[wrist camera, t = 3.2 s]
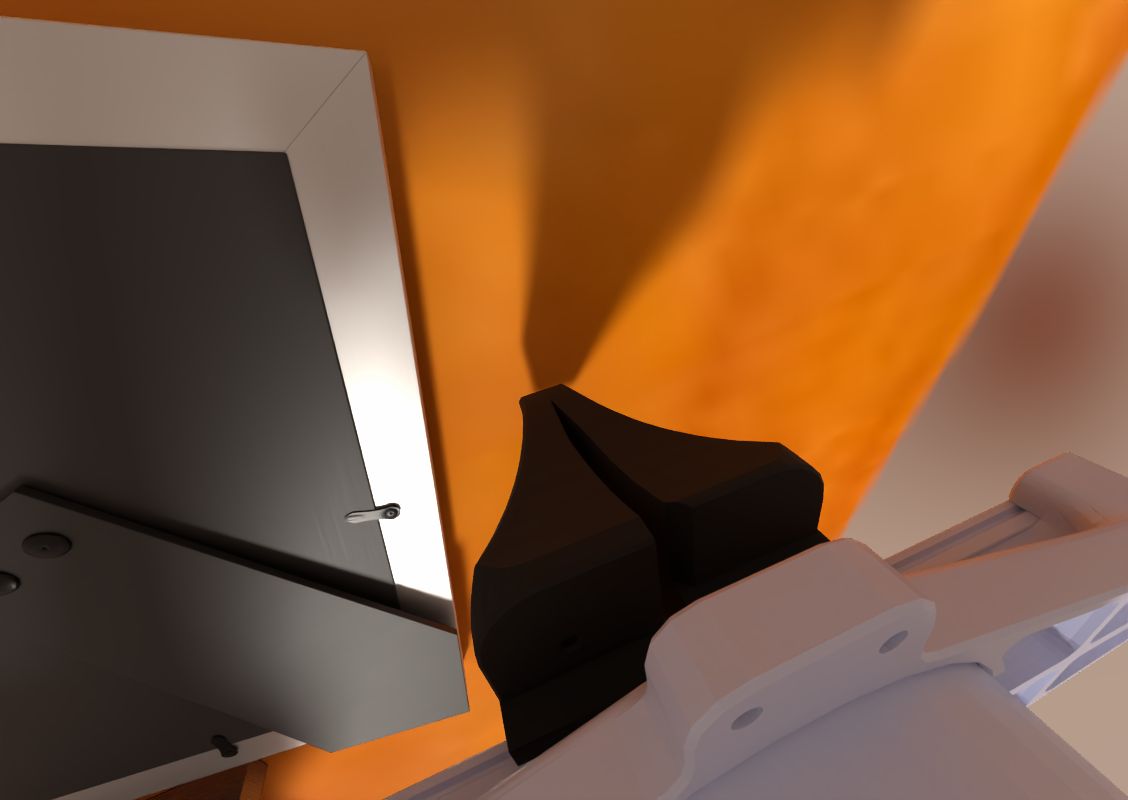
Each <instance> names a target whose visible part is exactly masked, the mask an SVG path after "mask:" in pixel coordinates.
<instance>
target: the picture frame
mask: <svg viewBox="0 0 1128 800" xmlns="http://www.w3.org/2000/svg"><path fill="white" fill-rule="evenodd" d="M469 711H470V710H469V703H468V696H467V685H466V677H465V669H464V661H463V654H462V648H461V641H460V635H459V628H458V622H457V615H456V609H455V602H454V596H453V589H452V583H451V576H450V570H449V563H448V557H447V550H446V544H445V537H444V531H443V524H442V518H441V511H440V505H439V498H438V492H437V485H436V479H435V472H434V466H433V460H432V453H431V447H430V440H429V434H428V427H427V421H426V414H425V408H424V401H423V395H422V388H421V382H420V375H419V369H418V362H417V356H416V349H415V343H414V336H413V330H412V323H411V317H410V310H409V304H408V297H407V291H406V284H405V278H404V271H403V265H402V258H401V252H400V245H399V239H398V232H397V226H396V220H395V213H394V207H393V200H392V194H391V187H390V181H389V174H388V168H387V161H386V155H385V148H384V142H383V135H382V129H381V122H380V116H379V109H378V103H377V96H376V90H375V83H374V77H373V70H372V65H371V62H370V59H369V56H368V53H367V52H366V51H365V50H354V49H344V48H333V47H323V46H313V45H302V44H292V43H281V42H271V41H260V40H250V39H239V38H229V37H219V36H208V35H198V34H187V33H177V32H166V31H156V30H146V29H135V28H125V27H114V26H104V25H93V24H83V23H73V22H62V21H52V20H41V19H31V18H20V17H10V16H0V800H134V799H137V798H140V797H144V796H147V795H150V794H153V793H156V792H159V791H162V790H165V789H168V788H171V787H174V786H178V785H181V784H184V783H187V782H190V781H193V780H196V779H199V778H202V777H205V776H209V775H212V774H215V773H218V772H221V771H224V770H227V769H230V768H233V767H236V766H239V765H243V764H246V763H249V762H252V761H255V760H258V759H261V758H264V757H267V756H270V755H274V754H277V753H280V752H283V751H286V750H289V749H292V748H295V747H298V746H301V745H304V744H309V745H312V746H314V747H317V748H320V749H322V750H325V751H328V752H331V753H332V752H335V751H339V750H342V749H345V748H349V747H352V746H355V745H359V744H362V743H365V742H369V741H372V740H375V739H379V738H382V737H385V736H389V735H392V734H396V733H399V732H402V731H406V730H409V729H412V728H416V727H419V726H422V725H426V724H429V723H432V722H436V721H439V720H442V719H446V718H449V717H452V716H456V715H459V714H463V713H466V712H469Z"/></svg>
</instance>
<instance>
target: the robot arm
mask: <svg viewBox="0 0 1128 800" xmlns="http://www.w3.org/2000/svg"><path fill="white" fill-rule="evenodd" d="M519 404H520V407H521V410H522V414H523V441H522V449H521V456H520V462H519V467H518V472H517V475H516V479H515V483H514V486H513V489H512V492H511V495H510V498H509V501H508V504H507V506H506V509H505V511H504V513H503V516H502V518H501V520H500V522H499V524H498V526H497V529H496V531H495V533H494V535H493V537H492V539H491V540H490V542H489V544H488V545H487V547H486V549H485V550H484V552H483V554H482V555H481V557H480V559H479V561H478V562H477V564H476V565H475V568H474V575H473V583H472V594H471V631H472V638H473V645H474V652H475V656H476V659H477V663H478V666H479V668H480V669H481V671H482V673H483V674H484V676H485V678H486V679H487V681H488V682H489V684H490V686H491V687H492V689H493V691H494V692H495V694H496V696H497V697H498V699H499V701H500V707H501V712H502V718H503V724H504V729H505V735H506V741H504V742H502V743H500V744H498V745H496V746H493V747H491V748H489V749H487V750H485V751H483V752H481V753H479V754H477V755H475V756H473V757H470V758H468V759H466V760H464V761H462V762H460V763H458V764H456V765H454V766H452V767H450V768H447V769H445V770H443V771H441V772H439V773H437V774H435V775H433V776H431V777H429V778H427V779H424V780H422V781H420V782H418V783H416V784H414V785H412V786H410V787H408V788H406V789H404V790H401V791H399V792H397V793H395V794H393V795H391V796H389V797H387V798H385V799H383V800H1128V796H1127V795H1125V794H1124V793H1123V792H1122V791H1121V790H1120V789H1119V788H1118V787H1117V786H1115V785H1114V784H1113V783H1112V782H1111V781H1110V780H1108V779H1107V778H1106V777H1105V776H1104V775H1103V774H1102V773H1100V771H1098V770H1097V769H1096V768H1095V767H1094V766H1093V765H1092V764H1090V763H1089V762H1088V761H1087V760H1086V759H1085V758H1084V757H1082V756H1081V755H1080V754H1079V753H1078V752H1077V751H1076V750H1075V749H1073V748H1072V747H1071V746H1070V745H1069V744H1068V743H1067V742H1065V741H1064V740H1063V739H1062V738H1061V737H1060V736H1059V735H1057V734H1056V733H1055V732H1054V731H1053V730H1052V729H1051V728H1050V727H1048V726H1047V725H1046V724H1045V723H1044V722H1043V721H1042V720H1041V719H1039V718H1038V717H1037V716H1036V715H1035V714H1034V713H1033V712H1031V711H1030V710H1029V709H1028V708H1027V707H1028V706H1030V705H1031V704H1033V703H1034V702H1036V701H1037V700H1039V699H1040V698H1042V697H1043V696H1044V695H1046V694H1048V693H1049V692H1050V691H1052V690H1053V689H1055V688H1057V687H1058V686H1059V685H1061V684H1062V683H1064V682H1065V681H1067V680H1068V679H1070V678H1071V677H1073V676H1074V675H1076V674H1077V673H1079V672H1080V671H1082V670H1083V669H1085V668H1086V667H1088V666H1089V665H1091V664H1093V663H1094V662H1096V661H1097V660H1099V659H1100V658H1101V657H1103V656H1105V655H1106V654H1108V653H1109V652H1111V651H1113V650H1114V649H1116V648H1117V647H1119V646H1120V645H1122V644H1124V643H1125V642H1127V641H1128V478H1127V477H1125V476H1123V475H1120V474H1118V473H1116V472H1114V471H1111V470H1109V469H1107V468H1104V467H1102V466H1100V465H1098V464H1095V463H1093V462H1091V461H1089V460H1086V459H1084V458H1082V457H1080V456H1077V455H1075V454H1073V453H1071V452H1069V453H1063V454H1061V455H1058V456H1056V457H1054V458H1052V459H1050V460H1048V461H1046V462H1043V463H1041V464H1039V465H1037V466H1035V467H1033V468H1031V469H1029V470H1028V471H1026V472H1025V473H1024V474H1023V475H1022V476H1021V477H1020V478H1019V479H1018V480H1017V481H1016V483H1015V484H1014V486H1013V488H1012V490H1011V492H1010V495H1009V500H1008V501H1006V502H1003V503H1002V504H999V505H997V506H995V507H993V508H991V509H989V510H987V511H985V512H983V513H980V514H978V515H976V516H974V517H972V518H970V519H968V520H966V521H964V522H962V523H960V524H957V525H955V526H953V527H951V528H949V529H947V530H945V531H943V532H941V533H939V534H937V535H934V536H932V537H930V538H928V539H926V540H924V541H922V542H920V543H918V544H916V545H914V546H911V547H909V548H908V549H905V550H903V551H901V552H899V553H897V554H895V555H893V556H891V557H889V558H886V559H884V560H883V559H882V558H881V557H880V556H879V555H878V554H876V553H875V552H874V551H873V550H872V549H870V548H869V547H868V546H867V545H866V544H863V543H861V542H859V541H856V540H854V539H852V538H841V539H837V540H833V541H830V540H829V539H828V538H827V537H825V536H824V535H823V534H822V533H821V532H820V531H819V530H818V529H817V527H818V522H819V517H820V512H821V507H822V502H823V492H824V483H823V480H822V477H821V475H820V473H819V472H818V471H816V470H815V469H814V468H813V467H812V466H811V465H809V464H808V463H807V462H805V461H804V460H803V459H802V458H800V457H799V456H798V455H796V454H795V453H794V452H792V451H791V450H789V449H788V448H787V447H785V446H784V445H782V444H780V443H778V442H756V441H736V440H727V439H718V438H710V437H703V436H697V435H692V434H687V433H682V432H677V431H672V430H668V429H664V428H661V427H657V426H654V425H651V424H647V423H644V422H641V421H638V420H635V419H632V418H630V417H627V416H625V415H622V414H620V413H618V412H615V411H613V410H611V409H608V408H606V407H604V406H602V405H600V404H598V403H596V402H594V401H592V400H590V399H589V398H587V397H585V396H583V395H581V394H579V393H578V392H576V391H574V390H572V389H571V388H569V387H567V386H565V385H563V384H559V385H556V386H553V387H550V388H547V389H544V390H541V391H538V392H535V393H532V394H529V395H526V396H524V397H522V398H521V399H520V401H519Z"/></svg>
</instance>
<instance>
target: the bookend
mask: <svg viewBox="0 0 1128 800" xmlns="http://www.w3.org/2000/svg"><path fill="white" fill-rule="evenodd" d="M267 767H268V765H266V764H265V763H263V762H262V761H260V760H259V759H258V760H255V761H252V762H249V763H246V764H243V765H239V766H236V767H233V768H230V769H227V770H224V771H221V772H218V773H215V774H212V775H209V776H205V777H202V778H199V779H196V780H193V781H190V782H187V783H185V784H183V785H181V786H178V787H176V788H174V789H171V790H169V791H167V792H165V793H162V794H160V795H158V796H155V797H153V798H151V799H149V800H260V798H261V794H262V789H263V785H264V780H265V776H266V771H267Z"/></svg>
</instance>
